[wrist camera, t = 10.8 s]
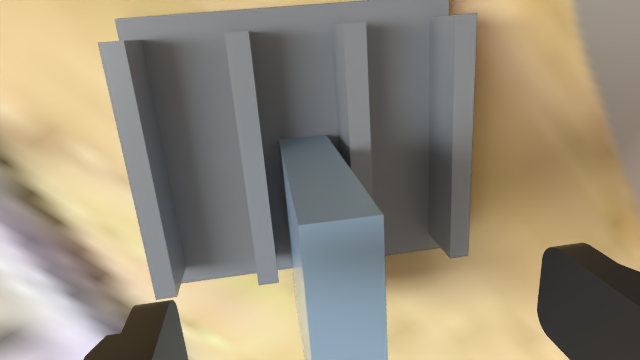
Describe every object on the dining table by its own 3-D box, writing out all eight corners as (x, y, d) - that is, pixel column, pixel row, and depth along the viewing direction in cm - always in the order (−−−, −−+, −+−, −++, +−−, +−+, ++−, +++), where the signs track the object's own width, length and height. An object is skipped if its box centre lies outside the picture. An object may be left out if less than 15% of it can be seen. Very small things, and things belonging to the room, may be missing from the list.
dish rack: (123, 20, 22) (91, 16, 17) (437, -3, 23) (478, -12, 19) (175, 271, 26) (159, 317, 22) (435, 236, 28) (467, 272, 24)
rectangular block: (278, 139, 23) (298, 225, 13) (326, 135, 23) (383, 214, 13) (296, 304, 26) (323, 480, 16) (337, 297, 26) (391, 467, 16)
